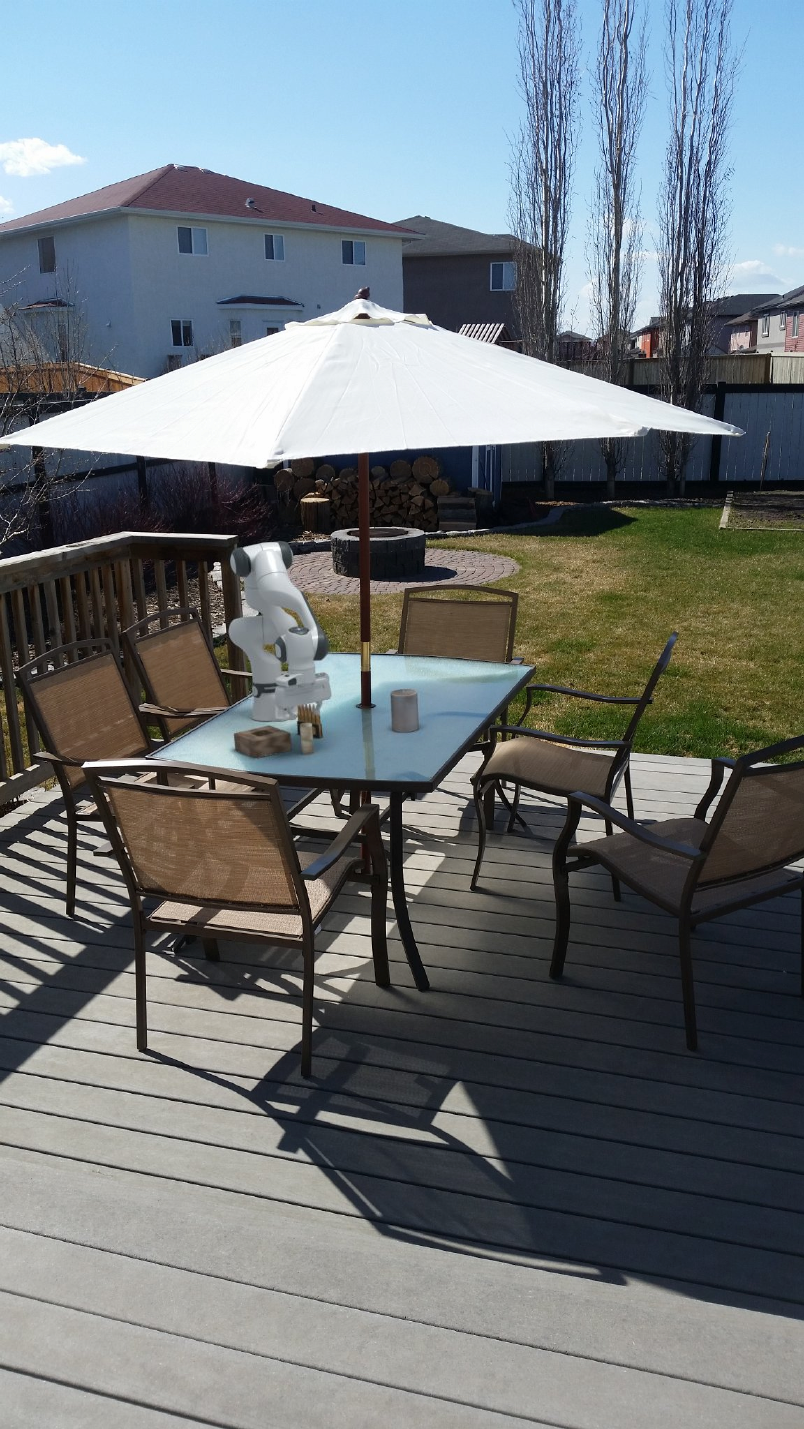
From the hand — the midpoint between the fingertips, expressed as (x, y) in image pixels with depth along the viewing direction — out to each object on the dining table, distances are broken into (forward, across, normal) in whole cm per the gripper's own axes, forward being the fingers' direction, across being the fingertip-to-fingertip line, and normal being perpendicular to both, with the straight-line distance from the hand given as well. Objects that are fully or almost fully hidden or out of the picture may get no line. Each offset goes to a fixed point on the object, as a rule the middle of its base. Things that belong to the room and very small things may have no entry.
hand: (305, 717), depth 355 cm
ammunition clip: (+12, -12, -18) cm, 25 cm away
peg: (+13, 0, 0) cm, 13 cm away
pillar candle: (+12, -41, 0) cm, 43 cm away
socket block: (+12, +9, -14) cm, 21 cm away
